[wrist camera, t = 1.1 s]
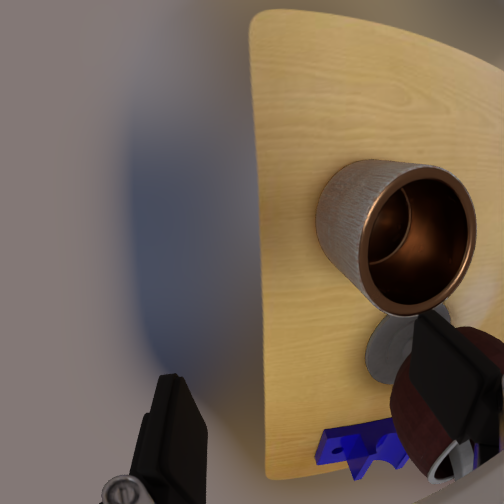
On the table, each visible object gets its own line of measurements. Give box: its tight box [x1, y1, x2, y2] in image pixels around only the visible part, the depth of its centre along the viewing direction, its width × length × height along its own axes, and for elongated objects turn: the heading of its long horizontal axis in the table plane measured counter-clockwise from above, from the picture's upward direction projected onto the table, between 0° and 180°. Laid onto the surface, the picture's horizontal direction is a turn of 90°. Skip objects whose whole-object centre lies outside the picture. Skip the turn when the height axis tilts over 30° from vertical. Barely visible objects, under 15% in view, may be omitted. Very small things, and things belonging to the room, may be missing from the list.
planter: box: [316, 159, 477, 317], centre depth 22 cm, size 11×11×10 cm
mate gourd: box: [365, 304, 504, 484], centre depth 22 cm, size 16×14×20 cm
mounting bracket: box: [315, 417, 409, 480], centre depth 34 cm, size 18×7×6 cm, turn 87°
